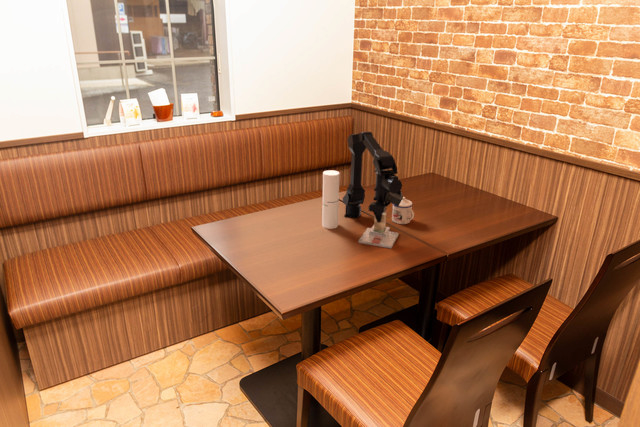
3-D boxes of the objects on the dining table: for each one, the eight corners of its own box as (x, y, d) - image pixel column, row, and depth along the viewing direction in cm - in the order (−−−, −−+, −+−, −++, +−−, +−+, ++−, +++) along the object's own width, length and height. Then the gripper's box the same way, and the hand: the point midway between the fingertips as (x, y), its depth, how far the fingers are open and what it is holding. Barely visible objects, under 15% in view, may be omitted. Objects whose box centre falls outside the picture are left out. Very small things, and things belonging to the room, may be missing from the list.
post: (373, 231, 195) (374, 213, 192) (376, 227, 199) (377, 210, 196) (383, 232, 194) (384, 215, 191) (385, 228, 197) (386, 211, 194)
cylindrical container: (336, 229, 206) (338, 175, 196) (320, 227, 207) (321, 174, 198) (339, 223, 213) (340, 170, 203) (323, 221, 214) (324, 169, 204)
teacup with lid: (387, 219, 217) (388, 196, 213) (401, 215, 222) (403, 192, 217) (405, 228, 208) (407, 204, 204) (419, 223, 213) (422, 200, 208)
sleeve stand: (358, 242, 194) (359, 233, 192) (367, 229, 206) (368, 220, 205) (391, 248, 190) (392, 238, 188) (398, 234, 202) (399, 225, 200)
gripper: (397, 195, 178) (394, 232, 184) (406, 180, 194) (403, 215, 200) (369, 191, 181) (367, 227, 188) (380, 177, 198) (378, 211, 204)
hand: (380, 220), depth 195 cm, fingers closed on post, 4 cm apart
